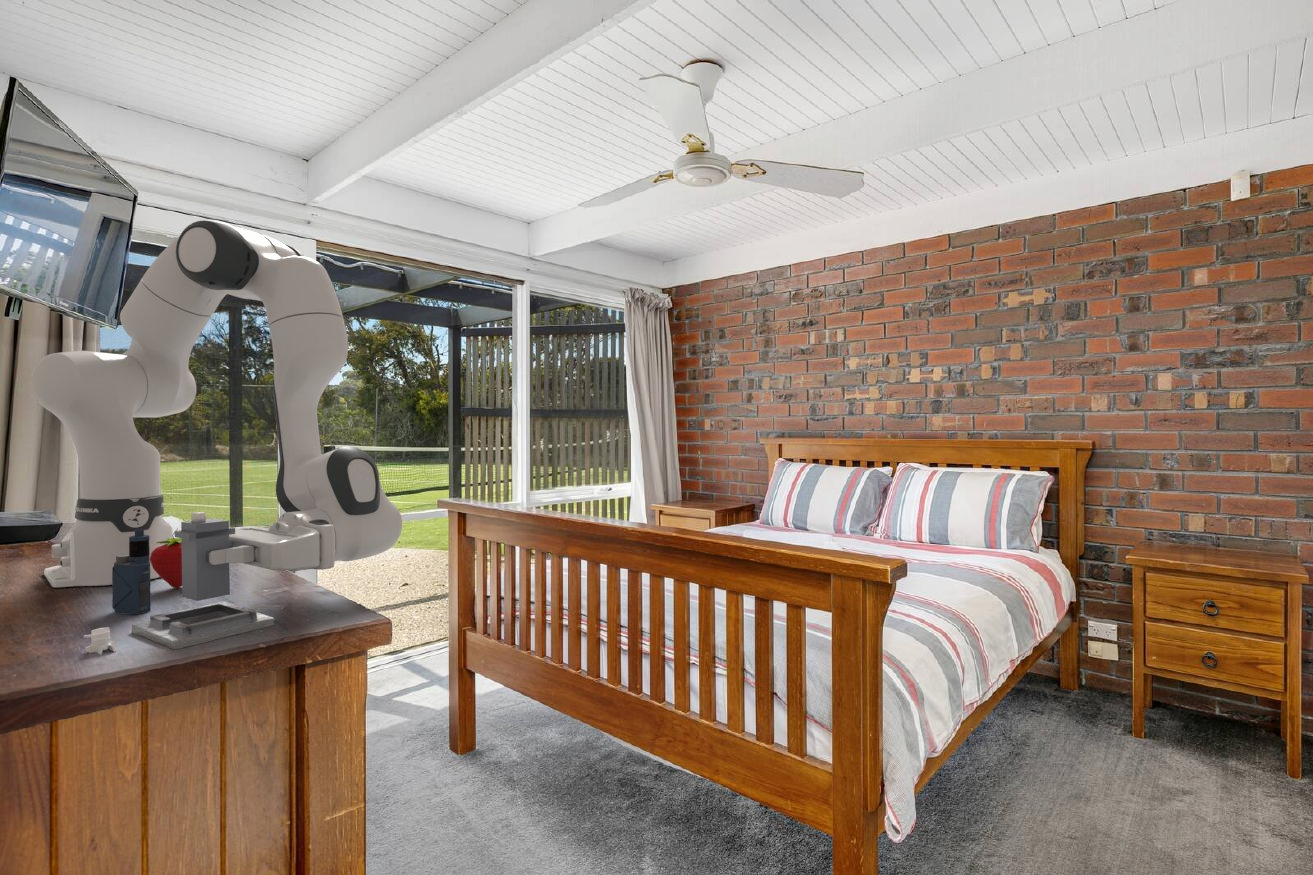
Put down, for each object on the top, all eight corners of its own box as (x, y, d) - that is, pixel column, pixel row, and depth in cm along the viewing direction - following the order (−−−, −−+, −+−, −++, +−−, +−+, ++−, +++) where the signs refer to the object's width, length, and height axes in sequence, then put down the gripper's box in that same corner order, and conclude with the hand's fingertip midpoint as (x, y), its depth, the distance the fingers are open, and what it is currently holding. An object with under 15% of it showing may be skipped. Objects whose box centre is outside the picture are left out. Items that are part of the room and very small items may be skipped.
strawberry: (211, 586, 113) (211, 526, 113) (159, 595, 107) (158, 532, 107) (194, 581, 117) (194, 523, 116) (143, 590, 110) (142, 529, 110)
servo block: (175, 598, 89) (174, 513, 89) (221, 589, 94) (220, 509, 94) (190, 602, 87) (188, 515, 87) (236, 593, 92) (235, 511, 92)
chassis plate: (131, 632, 89) (131, 617, 89) (229, 611, 99) (229, 597, 99) (174, 649, 82) (174, 633, 82) (274, 625, 93) (274, 610, 92)
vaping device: (138, 615, 96) (137, 531, 96) (108, 613, 97) (107, 529, 97) (155, 610, 99) (154, 528, 98) (125, 608, 100) (125, 527, 100)
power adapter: (113, 650, 83) (113, 624, 83) (119, 654, 82) (119, 629, 82) (81, 656, 81) (81, 630, 81) (86, 661, 79) (86, 635, 79)
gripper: (262, 514, 107) (162, 525, 95) (340, 525, 96) (237, 539, 84) (263, 553, 107) (162, 569, 95) (340, 569, 96) (237, 589, 84)
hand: (198, 555), depth 90 cm, fingers closed on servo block, 4 cm apart
